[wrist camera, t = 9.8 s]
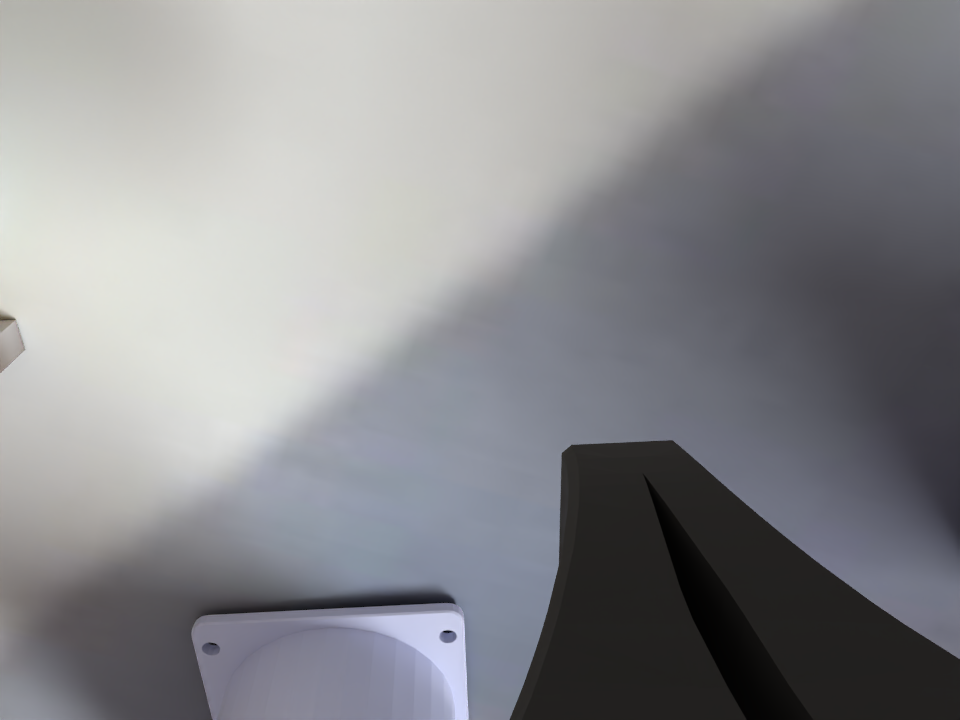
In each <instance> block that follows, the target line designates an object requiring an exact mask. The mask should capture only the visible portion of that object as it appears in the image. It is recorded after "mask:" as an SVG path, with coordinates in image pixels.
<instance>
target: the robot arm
mask: <svg viewBox="0 0 960 720" xmlns="http://www.w3.org/2000/svg"><path fill="white" fill-rule="evenodd" d="M446 630H451V631H453V632H451V633H444V632H443V631H446ZM191 637H192V641H193V645H194V649H195V653H196V657H197V661H198V665H199V669H200V673H201V677H202V681H203V685H204V689H205V693H206V696H207V700H208V704H209V708H210V712H211V716H212V720H469V718H468V696H467V673H466V651H465V629H464V614H463V610H462V609H461V608H460V607H459V606H457V605H455V604H453V603H435V604H415V605H395V606H376V607H356V608H336V609H317V610H297V611H277V612H258V613H238V614H218V615H206V616H201V617H200V618H198V619H197V620H196V621H195V623H194V625H193V628H192V631H191ZM209 642H210V643H215V644H217V645H211V644H209ZM510 720H960V659H958V658H957V657H955V656H954V655H952V654H950V653H949V652H947V651H946V650H944V649H943V648H941V647H939V646H938V645H936V644H935V643H933V642H932V641H930V640H928V639H927V638H925V637H924V636H922V635H920V634H919V633H917V632H916V631H914V630H913V629H911V628H909V627H908V626H906V625H905V624H903V623H902V622H900V621H899V620H897V619H896V618H894V617H893V616H891V615H890V614H888V613H887V612H885V611H884V610H882V609H881V608H880V607H878V606H877V605H875V604H874V603H872V602H871V601H869V600H868V599H867V598H865V597H864V596H863V595H861V594H860V593H859V592H857V591H856V590H854V589H853V588H852V587H850V586H849V585H848V584H846V583H845V582H844V581H842V580H841V579H839V578H838V577H837V576H835V575H834V574H833V573H831V572H830V571H828V570H827V569H826V568H824V567H823V566H822V565H820V564H819V563H818V562H816V561H815V560H814V559H813V558H811V557H810V556H809V555H807V554H806V553H805V552H804V551H802V550H801V549H800V548H798V547H797V546H796V545H795V544H793V543H792V542H791V541H790V540H788V539H787V538H786V537H785V536H783V535H782V534H781V533H780V532H779V531H777V530H776V529H775V528H774V527H772V526H771V525H770V524H769V523H768V522H766V521H765V520H764V519H763V518H762V517H760V516H759V515H758V514H757V513H756V512H754V511H753V510H752V509H751V508H750V507H749V506H747V505H746V504H745V503H744V502H743V501H742V500H740V499H739V498H738V497H737V496H736V495H735V494H733V493H732V492H731V491H730V490H729V489H728V488H727V487H725V486H724V485H723V484H722V483H721V482H720V481H719V480H717V479H716V478H715V477H714V476H713V475H712V474H711V473H709V472H708V471H707V470H706V469H705V468H704V467H703V466H702V465H700V464H699V463H698V462H697V461H696V460H695V459H694V458H693V457H691V456H690V455H689V454H688V453H687V452H686V451H684V450H683V449H682V448H681V447H680V446H679V445H677V444H676V443H675V442H674V441H672V440H671V441H649V442H627V443H605V444H583V445H571V446H570V447H569V448H568V449H566V450H565V451H564V452H563V453H562V468H561V507H560V546H559V567H558V571H557V575H556V580H555V584H554V588H553V592H552V596H551V600H550V604H549V608H548V612H547V615H546V619H545V622H544V626H543V629H542V632H541V635H540V639H539V642H538V645H537V648H536V651H535V654H534V657H533V660H532V663H531V665H530V668H529V671H528V674H527V677H526V680H525V682H524V685H523V688H522V690H521V693H520V695H519V698H518V700H517V703H516V705H515V708H514V710H513V713H512V715H511V718H510Z"/></svg>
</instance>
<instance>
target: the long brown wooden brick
mask: <svg viewBox="0 0 960 720" xmlns="http://www.w3.org/2000/svg"><path fill="white" fill-rule="evenodd" d="M24 350H25V348H24V344H23V341H22V338H21V335H20V332H19V328H18V325H17V322H16V320H0V373H1V372H2V371H3V370H4V369H5V368H6V367H7V366H8V365H9V364H10V363H12V362H13V361H14V360H15V359H16V358H17V357H18V356H19V355H20V354H21V353H22V352H23V351H24Z"/></svg>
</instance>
